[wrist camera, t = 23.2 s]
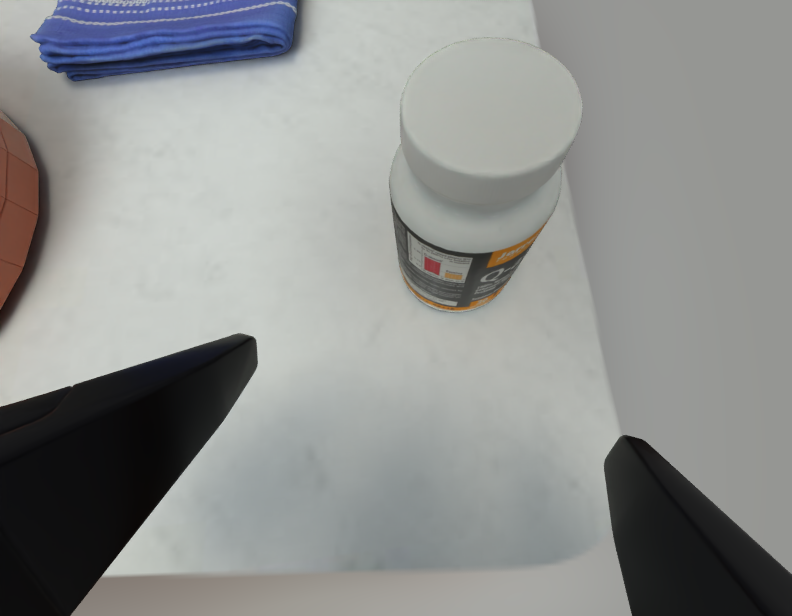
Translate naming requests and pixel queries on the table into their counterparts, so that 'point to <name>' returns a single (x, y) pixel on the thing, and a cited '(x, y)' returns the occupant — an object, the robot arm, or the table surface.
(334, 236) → the table surface
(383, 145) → the table surface
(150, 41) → the dish towel
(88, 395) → the robot arm
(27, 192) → the bowl
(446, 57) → the pill bottle
